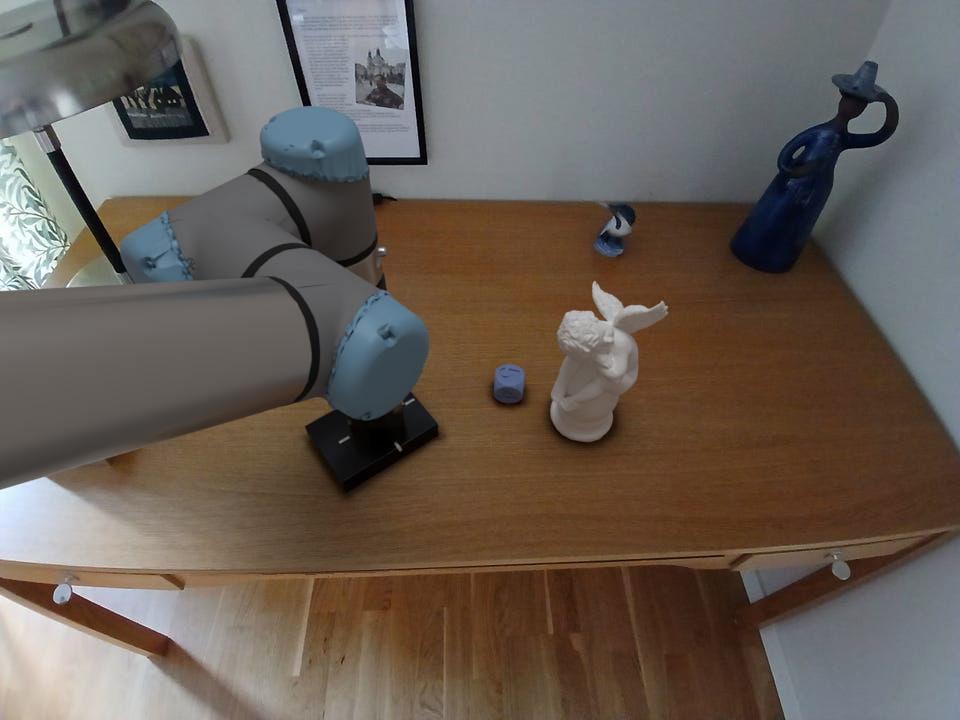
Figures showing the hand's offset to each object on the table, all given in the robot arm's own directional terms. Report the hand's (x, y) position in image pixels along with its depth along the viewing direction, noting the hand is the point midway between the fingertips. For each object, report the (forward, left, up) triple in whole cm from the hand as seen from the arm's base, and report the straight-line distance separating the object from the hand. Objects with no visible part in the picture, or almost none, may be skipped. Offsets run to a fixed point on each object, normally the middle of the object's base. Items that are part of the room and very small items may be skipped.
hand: (376, 415), depth 71 cm
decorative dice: (+18, -5, -5) cm, 19 cm away
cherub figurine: (+25, -13, -5) cm, 29 cm away
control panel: (-1, 0, -4) cm, 4 cm away
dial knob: (0, 0, -1) cm, 1 cm away
